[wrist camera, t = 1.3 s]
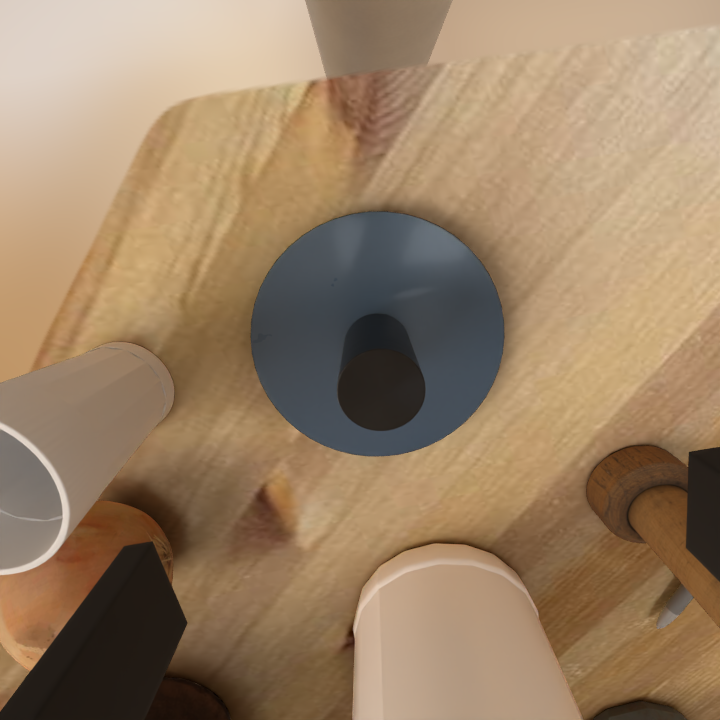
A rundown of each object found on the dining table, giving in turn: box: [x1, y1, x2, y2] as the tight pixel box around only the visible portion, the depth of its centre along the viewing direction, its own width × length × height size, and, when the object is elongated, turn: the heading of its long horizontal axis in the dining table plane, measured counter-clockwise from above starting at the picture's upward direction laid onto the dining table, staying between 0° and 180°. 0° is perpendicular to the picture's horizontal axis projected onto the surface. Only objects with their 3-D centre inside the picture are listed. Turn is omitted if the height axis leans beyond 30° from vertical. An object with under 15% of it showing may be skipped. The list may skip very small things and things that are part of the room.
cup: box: [0, 342, 174, 575], centre depth 23 cm, size 8×8×12 cm
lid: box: [251, 211, 504, 456], centre depth 23 cm, size 16×16×9 cm
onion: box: [0, 501, 173, 671], centre depth 27 cm, size 10×10×10 cm
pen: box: [656, 584, 694, 629], centre depth 32 cm, size 1×14×1 cm, turn 159°
